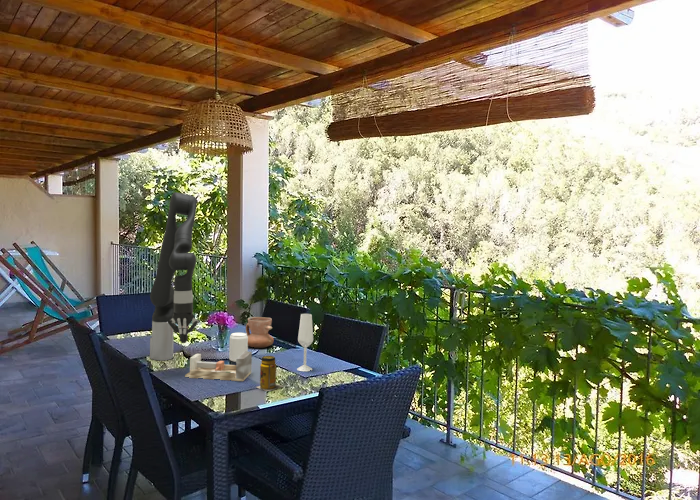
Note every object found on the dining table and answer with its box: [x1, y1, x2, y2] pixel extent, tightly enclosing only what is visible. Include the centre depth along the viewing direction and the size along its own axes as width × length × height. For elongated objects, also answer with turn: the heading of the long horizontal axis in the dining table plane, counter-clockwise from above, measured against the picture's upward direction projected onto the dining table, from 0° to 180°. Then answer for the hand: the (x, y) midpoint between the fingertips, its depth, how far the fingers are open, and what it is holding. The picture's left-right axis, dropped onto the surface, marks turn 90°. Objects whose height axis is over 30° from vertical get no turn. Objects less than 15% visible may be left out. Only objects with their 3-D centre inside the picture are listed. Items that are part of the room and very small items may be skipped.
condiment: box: [256, 355, 284, 392], centre depth 212 cm, size 7×8×12 cm
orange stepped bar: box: [215, 360, 225, 371], centre depth 223 cm, size 2×8×3 cm, turn 175°
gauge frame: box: [184, 351, 253, 382], centre depth 225 cm, size 24×12×9 cm, turn 85°
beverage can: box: [228, 332, 249, 363], centre depth 249 cm, size 8×8×12 cm
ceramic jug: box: [245, 316, 275, 349], centre depth 276 cm, size 18×14×14 cm
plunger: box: [189, 353, 218, 371], centre depth 225 cm, size 10×7×6 cm
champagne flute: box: [296, 313, 314, 372], centre depth 237 cm, size 7×7×24 cm
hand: (183, 342), depth 226 cm, fingers closed
